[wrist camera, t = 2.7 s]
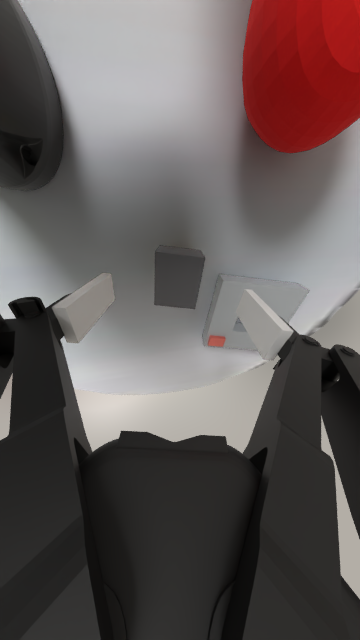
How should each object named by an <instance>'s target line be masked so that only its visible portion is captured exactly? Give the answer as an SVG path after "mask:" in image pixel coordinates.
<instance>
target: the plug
mask: <svg viewBox="0 0 360 640" xmlns="http://www.w3.org/2000/svg"><path fill="white" fill-rule="evenodd" d="M204 262H205V256H204V255H203V253H202V251H201V250H194V249H186V248H178V247H170V246H163V245H160V246H159V247H158V249H157V250H156V251H155V301H154V305H161V306H171V307H180V308H190V309H195V306H196V302H197V297H198V292H199V287H200V282H201V277H202V272H203V267H204Z"/></svg>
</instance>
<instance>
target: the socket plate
mask: <svg viewBox="0 0 360 640" xmlns="http://www.w3.org/2000/svg"><path fill="white" fill-rule="evenodd" d="M244 289H249V290H253V291H254V292H255V293H256V294H257V295H258V296H259V297H260V298H261V299H262V300H263V301H264V302H265V303H266V304H267V305H268V306H269V307H270V308H271V309H272V310H273V311H274V312H275V313H276V314H277V315H278V316H280V317H281V318H283V319H284V320H285V321H286V323H288V322H289V321H290V319H291V318H292V316H293V315H294V314H295V312H296V311H297V309H298V308H299V306H300V305H301V303H302V302H303V300H304V299H305V297H306V296H307V294H308V293H309V291H310V290H308V289H307V288H305V287H303V286H301V285H300V284H298V283H291V282H282V281H274V280H265V279H257V278H248V277H240V276H232V275H223V274H219V276H218V280H217V284H216V288H215V291H214V295H213V299H212V302H211V306H210V310H209V313H208V317H207V321H206V324H205V328H204V332H203V336H202V337H203V343H204V346H211V347H222V348H234V349H245V350H257V348H256V346H255V344H254V343H253V341H252V339H251V338H250V336H249V334H248V333H247V331H246V329H245V327H244V326H243V324H242V323H236V321H237V319H238V315H237V314H236V310H237V307H238V305H239V302H240V300H241V297H242V295H243V292H244ZM257 351H258V350H257Z"/></svg>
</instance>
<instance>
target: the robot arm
mask: <svg viewBox="0 0 360 640" xmlns="http://www.w3.org/2000/svg"><path fill="white" fill-rule="evenodd" d="M62 150H63V123H62V114H61V108H60V103H59V98H58V94H57V90H56V87H55V83H54V80H53V77H52V74H51V71H50V68H49V65H48V62H47V60H46V57H45V55H44V52H43V50H42V47H41V45H40V43H39V41H38V38H37V36H36V34H35V32H34V30H33V28H32V26H31V24H30V22H29V20H28V18H27V16H26V15H25V13H24V11H23V9H22V7H21V6H20V4H19V2H18V1H17V0H0V187H4V188H9V189H15V190H34V189H37V188H40V187H42V186H44V185H45V184H47V183H48V182H49V181H50V180H51V179H52V177H53V176H54V175H55V173H56V171H57V169H58V166H59V164H60V160H61V156H62ZM114 300H115V295H114V289H113V282H112V276H111V274H110V273H102V274H100V275H99V276H97V277H96V278H94V279H93V280H91V281H90V282H88V283H87V284H85V285H84V286H82V287H81V288H79V289H78V290H76V291H75V292H73V293H71V294H68V295H66V296H64V297H62V298H61V299H60V300H58V301H56V302H54V303H53V304H51V305H50V306H48V307H47V308H45V307H44V305H43V303H42V300H41V299H40V298H38V297H25V298H20V299H17V300H14V301H12V302H10V303H9V304H8V306H9V307H10V309H11V311H12V312H13V314H14V315H15V317H16V319H3V318H2V316H1V315H0V398H1V396H2V394H3V392H4V389H5V387H6V385H7V383H8V381H9V379H10V377H11V375H12V373H13V379H12V397H11V414H10V430H9V435H8V436H7V437H6V438H4V439H2V440H0V640H360V599H359V598H358V597H357V595H356V594H355V593H354V592H353V590H352V589H351V588H350V587H349V585H348V584H347V583H346V582H345V580H344V579H343V578H342V576H341V574H340V557H339V540H338V520H337V503H336V486H335V469H334V464H333V460H332V459H331V457H330V456H329V455H327V454H326V453H325V452H323V451H322V450H321V416H322V419H323V422H324V425H325V429H326V432H327V435H328V439H329V442H330V445H331V449H332V452H333V455H334V459H335V462H336V465H337V468H338V472H339V475H340V478H341V482H342V485H343V488H344V492H345V495H346V498H347V502H348V505H349V508H350V512H351V515H352V518H353V521H354V524H355V527H356V530H357V533H358V535H359V539H360V355H359V354H358V353H357V352H355V351H354V350H353V349H351V348H349V347H345V346H342V345H334V346H333V347H332V348H331V349H326V348H323V347H321V345H320V343H318V342H317V341H316V340H314V339H313V338H311V337H308V336H306V335H299V334H298V333H297V332H296V331H295V330H294V329H293V328H292V327H291V326H289V324H288V323H286V321H285V320H284V319H283V318H281V317H280V316H278V315H277V314H276V313H275V312H274V311H273V310H272V309H271V308H270V307H269V306H268V305H267V304H266V303H265V302H264V301H263V300H262V299H261V298H260V297H259V296H258V295H257V294H256V293H255V292H254V291H253V290H249V289H244V292H243V295H242V297H241V300H240V302H239V305H238V307H237V310H236V314H237V315H238V317H239V319H240V321H241V322H242V324H243V326H244V327H245V329H246V331H247V333H248V334H249V336H250V338H251V339H252V341H253V343H254V344H255V346H256V348H257V350H258V351H259V353H260V355H261V356H262V358H263V359H264V360H274V359H275V357H276V356H277V354H278V356H279V357H280V358H281V359H280V360H279V361H278V363H277V364H276V365H275V367H274V368H273V369H274V370H275V371H274V374H273V377H272V380H271V383H270V385H269V388H268V391H267V394H266V396H265V399H264V402H263V405H262V408H261V410H260V413H259V416H258V419H257V421H256V424H255V427H254V430H253V433H252V436H251V438H250V441H249V444H248V445H247V447H246V449H245V450H244V452H243V454H242V453H241V452H239V451H237V450H236V449H235V448H233V447H231V446H229V445H227V442H226V437H225V436H207V435H199V436H196V437H192V438H189V439H185V440H182V441H178V442H171V441H169V440H166V439H164V438H161V437H158V436H156V435H153V434H151V433H148V432H134V431H133V432H132V431H121V433H120V437H119V439H116V440H113V441H111V442H108V443H106V444H104V445H103V446H101V447H99V448H98V449H96V450H95V451H94V452H92V450H91V447H90V444H89V442H88V439H87V437H86V433H85V430H84V426H83V422H82V418H81V414H80V411H79V407H78V403H77V400H76V396H75V392H74V388H73V384H72V380H71V377H70V373H69V369H68V365H67V361H66V358H65V354H64V350H63V346H62V343H61V341H60V339H61V338H62V337H63V336H64V337H65V339H66V341H67V342H69V343H79V342H80V341H81V340H82V339H83V338H84V336H85V335H86V334H87V333H88V332H89V330H90V329H91V328H92V327H93V326H94V324H95V323H96V322H97V321H98V320H99V318H100V317H101V316H102V315H103V314H104V312H105V311H106V310H107V309H108V308H109V306H110V305H111V304H112V303H113V302H114ZM338 379H339V380H338ZM337 380H338V381H337Z"/></svg>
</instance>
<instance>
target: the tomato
mask: <svg viewBox="0 0 360 640" xmlns="http://www.w3.org/2000/svg"><path fill="white" fill-rule="evenodd" d="M242 81H243V96H244V106H245V110H246V113H247V117H248V120H249V121H250V123H251V125H252V127H253V128H254V130H255V131H256V133H257V134H258V136H259V137H260V138H261V139H262V140H263V141H264V142H265V143H266V144H267V145H268V146H270V147H271V148H273V149H275V150H277V151H279V152H285V153H297V152H302V151H306V150H310V149H312V148H315V147H317V146H319V145H321V144H324V143H325V142H327V141H329V140H330V139H332V138H334V137H335V136H336V135H338V134H339V133H340V132H342V131H343V130H345V129H346V128H347V127H349V126H350V125H351V124H353V123H354V122H355V121H356V120H357V119H359V118H360V0H253V1H252V5H251V9H250V14H249V20H248V26H247V32H246V39H245V46H244V52H243V76H242Z"/></svg>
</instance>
